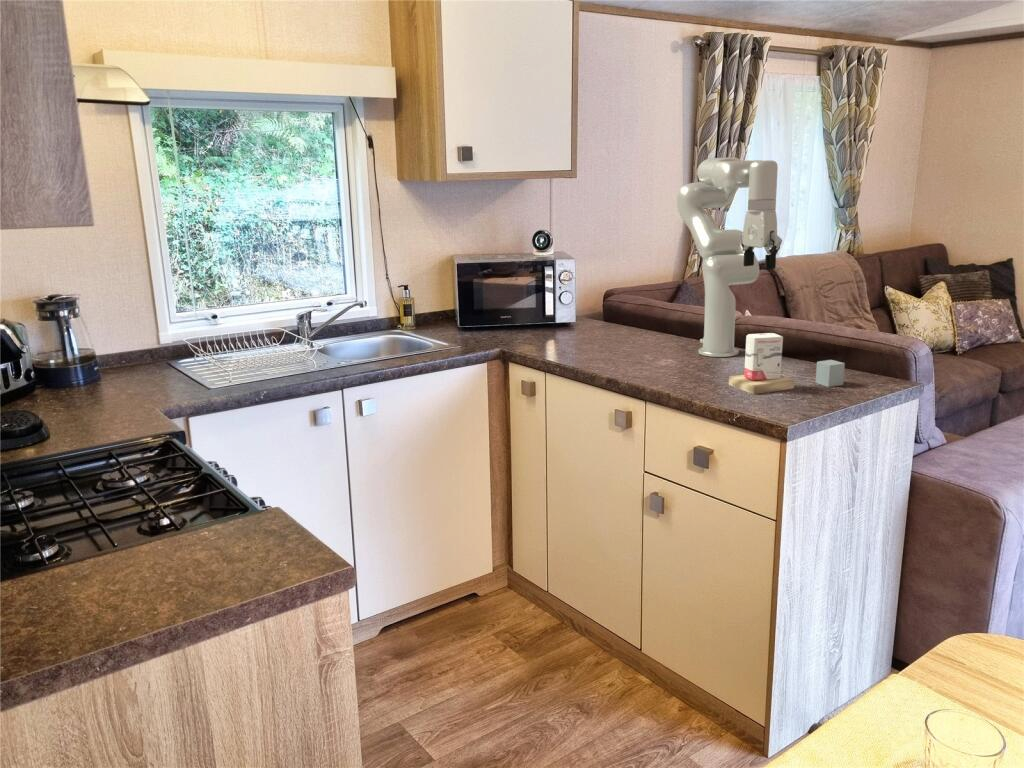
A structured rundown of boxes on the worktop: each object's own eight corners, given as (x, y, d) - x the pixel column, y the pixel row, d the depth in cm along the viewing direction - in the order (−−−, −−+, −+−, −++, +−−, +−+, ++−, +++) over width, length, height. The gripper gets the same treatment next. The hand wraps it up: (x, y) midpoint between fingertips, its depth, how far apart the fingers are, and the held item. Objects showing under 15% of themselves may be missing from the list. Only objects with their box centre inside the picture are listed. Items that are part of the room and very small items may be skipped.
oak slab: (728, 386, 221) (729, 376, 220) (767, 381, 225) (768, 371, 225) (753, 396, 211) (753, 385, 210) (793, 390, 215) (794, 379, 215)
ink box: (751, 380, 214) (754, 337, 211) (742, 376, 219) (745, 334, 216) (781, 378, 216) (784, 335, 213) (771, 374, 221) (774, 332, 218)
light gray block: (815, 382, 220) (816, 361, 219) (830, 380, 222) (831, 359, 220) (828, 387, 216) (829, 365, 214) (843, 384, 217) (844, 363, 216)
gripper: (732, 206, 231) (729, 265, 235) (770, 207, 215) (767, 271, 219) (753, 205, 233) (751, 263, 237) (793, 206, 217) (790, 269, 222)
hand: (759, 267), depth 228 cm, fingers open, 9 cm apart
